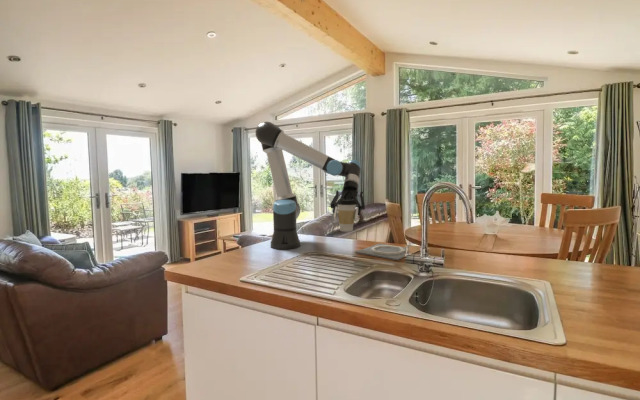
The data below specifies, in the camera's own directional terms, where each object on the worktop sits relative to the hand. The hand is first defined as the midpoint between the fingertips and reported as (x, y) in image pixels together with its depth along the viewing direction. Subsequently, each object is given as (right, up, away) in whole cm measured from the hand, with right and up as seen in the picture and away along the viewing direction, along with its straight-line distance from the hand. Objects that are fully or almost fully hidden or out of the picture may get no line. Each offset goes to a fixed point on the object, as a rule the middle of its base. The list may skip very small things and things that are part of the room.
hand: (345, 219), depth 168 cm
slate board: (+20, -15, -2) cm, 25 cm away
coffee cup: (+1, -6, +4) cm, 7 cm away
